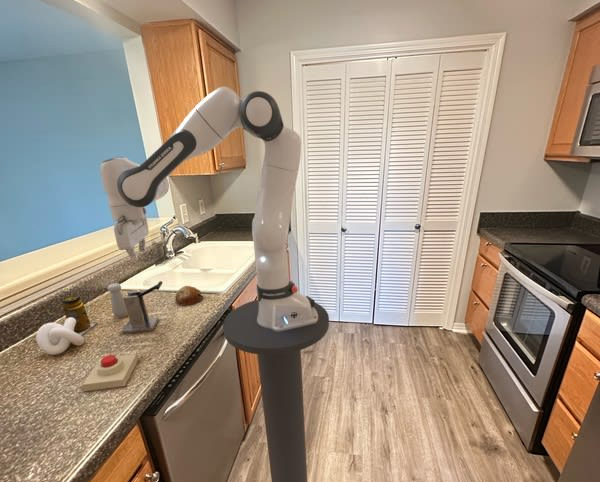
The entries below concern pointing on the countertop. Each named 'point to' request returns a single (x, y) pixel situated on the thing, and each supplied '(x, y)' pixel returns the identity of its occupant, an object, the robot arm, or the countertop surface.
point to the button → (108, 361)
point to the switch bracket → (137, 315)
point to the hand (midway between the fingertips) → (139, 255)
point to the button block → (111, 373)
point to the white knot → (58, 336)
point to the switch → (149, 290)
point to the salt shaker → (117, 301)
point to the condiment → (77, 314)
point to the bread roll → (188, 295)
